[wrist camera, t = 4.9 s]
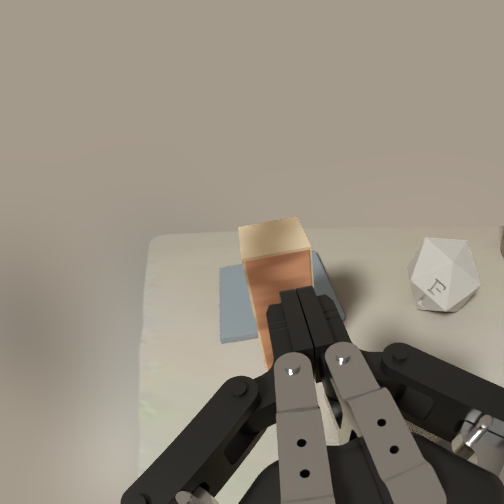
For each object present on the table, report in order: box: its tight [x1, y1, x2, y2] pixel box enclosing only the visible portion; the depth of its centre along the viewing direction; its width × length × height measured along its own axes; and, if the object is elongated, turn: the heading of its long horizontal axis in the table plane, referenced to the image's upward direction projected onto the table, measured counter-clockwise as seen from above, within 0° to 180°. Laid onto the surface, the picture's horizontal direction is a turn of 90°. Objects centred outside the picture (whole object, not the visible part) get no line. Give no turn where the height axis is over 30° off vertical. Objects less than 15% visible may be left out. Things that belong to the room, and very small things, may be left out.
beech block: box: [238, 217, 314, 372], centre depth 28 cm, size 5×5×14 cm
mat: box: [220, 251, 345, 344], centre depth 40 cm, size 14×14×1 cm
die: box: [407, 237, 481, 312], centre depth 31 cm, size 8×9×10 cm
